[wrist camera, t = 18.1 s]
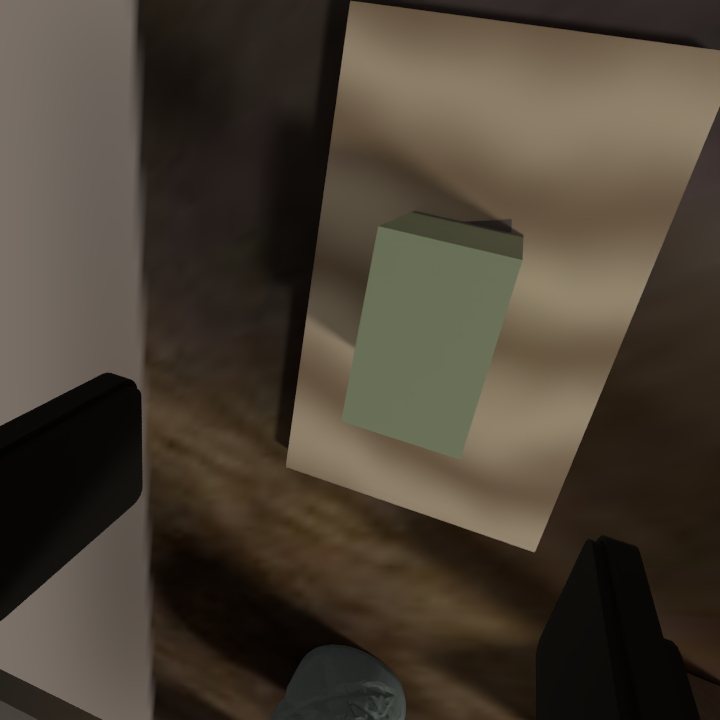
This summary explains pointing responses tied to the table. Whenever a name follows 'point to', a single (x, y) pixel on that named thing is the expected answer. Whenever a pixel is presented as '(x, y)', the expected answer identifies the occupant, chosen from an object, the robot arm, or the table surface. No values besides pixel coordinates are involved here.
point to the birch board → (503, 212)
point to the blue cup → (342, 688)
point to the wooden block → (705, 697)
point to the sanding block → (430, 328)
